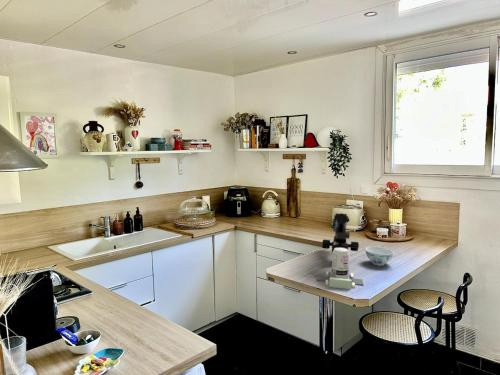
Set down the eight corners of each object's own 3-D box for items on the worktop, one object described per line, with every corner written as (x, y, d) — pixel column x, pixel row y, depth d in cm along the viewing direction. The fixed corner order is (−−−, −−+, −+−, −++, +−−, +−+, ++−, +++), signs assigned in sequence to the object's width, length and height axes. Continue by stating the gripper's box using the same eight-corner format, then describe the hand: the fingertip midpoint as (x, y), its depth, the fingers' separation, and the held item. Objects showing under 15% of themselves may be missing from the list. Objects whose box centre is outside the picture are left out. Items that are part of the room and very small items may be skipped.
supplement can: (335, 274, 192) (337, 246, 190) (350, 278, 187) (352, 249, 185) (328, 278, 186) (329, 249, 184) (343, 282, 181) (345, 253, 179)
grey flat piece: (317, 272, 195) (318, 264, 194) (361, 276, 190) (361, 268, 190) (316, 285, 177) (316, 277, 176) (364, 290, 172) (365, 282, 172)
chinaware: (359, 262, 211) (360, 249, 210) (373, 257, 221) (374, 245, 220) (383, 270, 200) (384, 256, 199) (397, 264, 209) (398, 251, 208)
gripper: (323, 224, 198) (321, 250, 189) (359, 227, 194) (360, 254, 185) (323, 235, 207) (321, 260, 198) (357, 237, 203) (357, 263, 194)
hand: (339, 259), depth 193 cm, fingers closed
